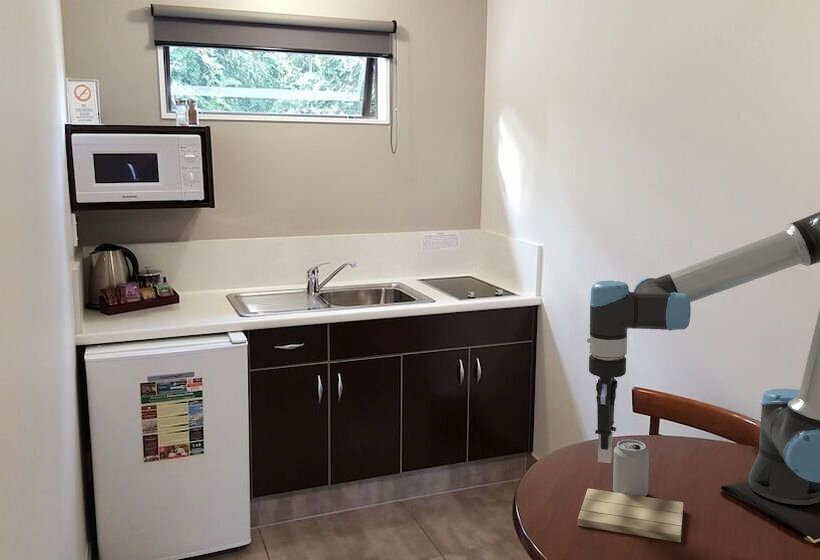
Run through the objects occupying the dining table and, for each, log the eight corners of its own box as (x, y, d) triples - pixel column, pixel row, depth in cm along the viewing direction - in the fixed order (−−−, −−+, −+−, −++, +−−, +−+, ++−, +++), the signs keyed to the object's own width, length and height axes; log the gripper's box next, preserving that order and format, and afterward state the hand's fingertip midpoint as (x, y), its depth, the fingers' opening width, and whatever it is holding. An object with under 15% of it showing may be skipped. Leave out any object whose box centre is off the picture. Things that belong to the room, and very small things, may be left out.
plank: (683, 508, 155) (683, 502, 155) (681, 532, 147) (681, 525, 146) (587, 494, 163) (587, 488, 162) (580, 516, 154) (580, 509, 154)
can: (649, 503, 159) (651, 451, 157) (614, 501, 160) (615, 450, 158) (645, 487, 166) (647, 438, 164) (611, 485, 167) (612, 436, 165)
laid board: (681, 532, 147) (681, 525, 146) (680, 542, 143) (680, 535, 143) (580, 516, 154) (580, 509, 154) (577, 525, 151) (577, 518, 150)
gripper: (593, 345, 159) (591, 447, 164) (584, 362, 147) (582, 471, 152) (629, 348, 156) (626, 451, 161) (622, 365, 145) (619, 476, 149)
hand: (604, 461), depth 156 cm, fingers closed
